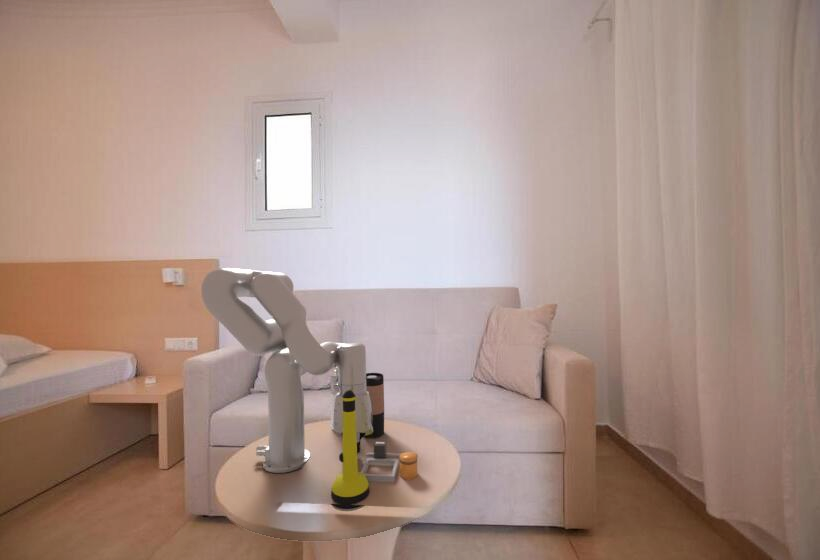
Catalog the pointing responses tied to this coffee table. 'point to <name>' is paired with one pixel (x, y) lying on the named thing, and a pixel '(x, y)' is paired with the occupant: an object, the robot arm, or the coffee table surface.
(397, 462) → the board
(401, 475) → the cap
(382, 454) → the breaker toggle
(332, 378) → the water bottle
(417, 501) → the coffee table surface
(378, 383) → the travel mug
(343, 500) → the flashlight
